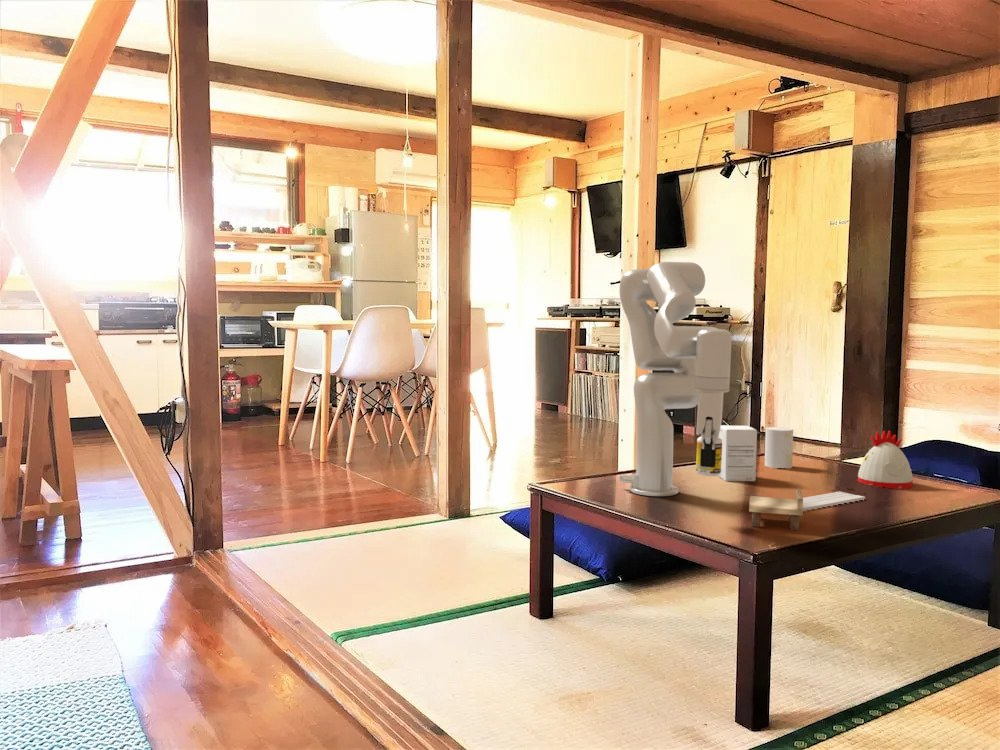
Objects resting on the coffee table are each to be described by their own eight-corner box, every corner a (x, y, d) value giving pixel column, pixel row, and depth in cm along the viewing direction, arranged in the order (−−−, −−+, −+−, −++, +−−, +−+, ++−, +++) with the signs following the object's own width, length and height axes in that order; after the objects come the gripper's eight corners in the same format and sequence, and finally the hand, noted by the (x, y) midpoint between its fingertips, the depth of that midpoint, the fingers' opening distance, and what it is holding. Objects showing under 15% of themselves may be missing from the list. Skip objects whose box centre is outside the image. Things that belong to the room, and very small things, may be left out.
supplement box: (716, 475, 237) (717, 425, 236) (746, 475, 237) (747, 425, 236) (724, 481, 228) (725, 429, 227) (756, 481, 228) (757, 429, 227)
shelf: (748, 527, 176) (749, 495, 176) (749, 516, 187) (750, 485, 186) (802, 531, 173) (803, 499, 172) (799, 519, 183) (800, 489, 183)
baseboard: (753, 508, 197) (787, 517, 188) (753, 497, 196) (788, 505, 188) (830, 495, 213) (865, 502, 204) (831, 484, 212) (865, 491, 204)
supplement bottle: (714, 478, 178) (716, 432, 177) (691, 474, 181) (693, 429, 180) (725, 473, 182) (727, 429, 181) (702, 470, 186) (704, 426, 184)
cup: (788, 470, 246) (789, 431, 245) (761, 467, 250) (762, 429, 249) (794, 466, 252) (796, 428, 252) (768, 463, 257) (769, 426, 256)
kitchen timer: (849, 479, 232) (851, 427, 231) (897, 479, 232) (899, 427, 231) (871, 488, 218) (873, 434, 217) (922, 489, 218) (924, 434, 217)
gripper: (697, 379, 189) (694, 455, 191) (691, 387, 172) (688, 470, 174) (731, 381, 186) (727, 457, 188) (727, 389, 170) (723, 473, 172)
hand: (708, 462), depth 181 cm, fingers closed on supplement bottle, 5 cm apart
